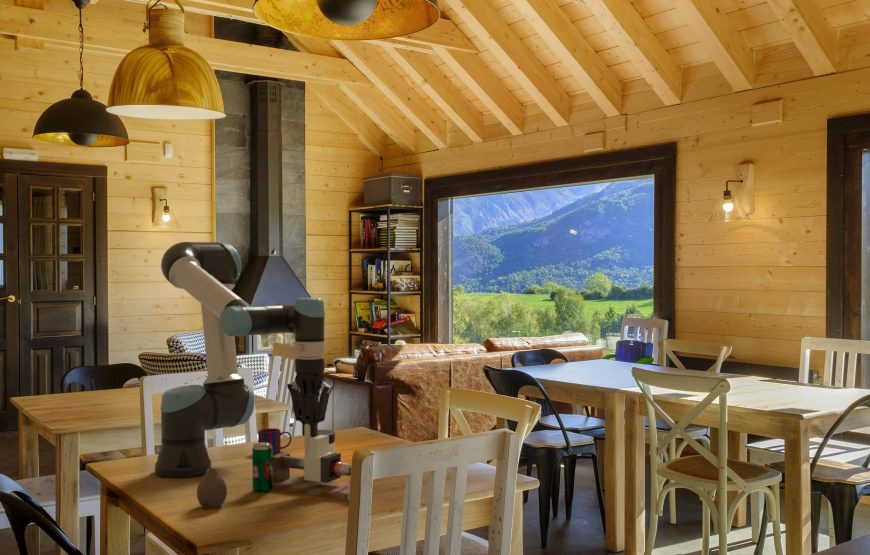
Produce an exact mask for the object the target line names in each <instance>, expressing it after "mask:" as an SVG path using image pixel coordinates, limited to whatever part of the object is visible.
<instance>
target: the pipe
mask: <svg viewBox="0 0 870 555" xmlns="http://www.w3.org/2000/svg"><path fill="white" fill-rule="evenodd" d="M280 464H281V466H282V467H285V468H290V469H292V470H293V469H294V470H301V471H304V457H300V456H299V457H298V456H291V455H290V456H283V457H282V458H281V461H280ZM350 467H351V463H346V462H343V461H341V462H331V461H329V474H334V475H341V477H342V476H347V477H350Z"/></svg>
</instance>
